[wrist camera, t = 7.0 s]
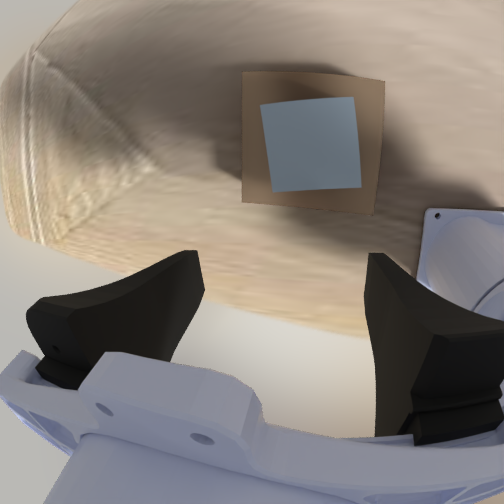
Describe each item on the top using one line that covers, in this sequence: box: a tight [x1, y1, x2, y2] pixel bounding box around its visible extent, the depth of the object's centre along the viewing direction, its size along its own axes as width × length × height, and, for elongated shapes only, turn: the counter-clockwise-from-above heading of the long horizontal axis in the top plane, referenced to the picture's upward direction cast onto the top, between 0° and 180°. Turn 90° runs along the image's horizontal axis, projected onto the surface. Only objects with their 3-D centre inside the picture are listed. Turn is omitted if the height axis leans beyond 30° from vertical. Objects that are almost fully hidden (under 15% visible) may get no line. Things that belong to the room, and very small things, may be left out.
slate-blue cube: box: [260, 97, 362, 192], centre depth 13 cm, size 4×4×4 cm
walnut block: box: [242, 71, 385, 216], centre depth 17 cm, size 8×8×4 cm
